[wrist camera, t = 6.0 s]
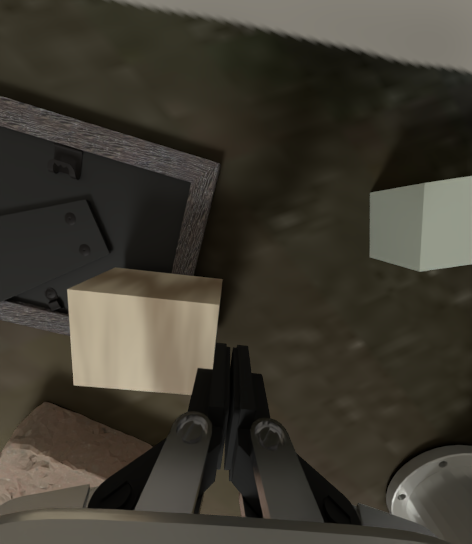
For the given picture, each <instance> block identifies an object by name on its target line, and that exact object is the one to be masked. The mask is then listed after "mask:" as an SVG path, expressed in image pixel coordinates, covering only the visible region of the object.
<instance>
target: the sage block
mask: <svg viewBox="0 0 472 544" xmlns="http://www.w3.org/2000/svg"><path fill="white" fill-rule="evenodd" d="M370 257H371V258H375V259H378V260H381V261H385V262H388V263H392V264H395V265H399V266H402V267H406V268H409V269H412V270H416V271H419V272H420V271H427V270H434V269H441V268H448V267H455V266H462V265H469V264H472V176H468V177H461V178H454V179H448V180H441V181H434V182H428V183H421V184H416V185H410V186H405V187H399V188H393V189H388V190H382V191H377V192H371V193H370Z"/></svg>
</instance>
